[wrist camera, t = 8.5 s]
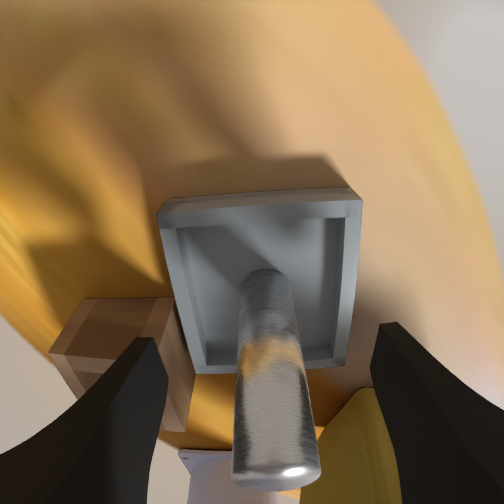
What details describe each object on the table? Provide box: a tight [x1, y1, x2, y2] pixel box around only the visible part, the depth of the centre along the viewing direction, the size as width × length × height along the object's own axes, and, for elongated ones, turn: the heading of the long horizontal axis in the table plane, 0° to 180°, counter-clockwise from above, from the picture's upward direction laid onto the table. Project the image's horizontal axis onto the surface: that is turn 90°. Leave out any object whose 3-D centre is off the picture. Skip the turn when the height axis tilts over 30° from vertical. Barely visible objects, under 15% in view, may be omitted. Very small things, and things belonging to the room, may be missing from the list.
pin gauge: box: [231, 268, 321, 492], centre depth 9 cm, size 2×2×8 cm
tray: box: [156, 187, 363, 374], centre depth 13 cm, size 8×7×2 cm
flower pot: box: [300, 388, 402, 504], centre depth 14 cm, size 9×9×9 cm
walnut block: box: [48, 297, 196, 432], centre depth 13 cm, size 5×5×4 cm
